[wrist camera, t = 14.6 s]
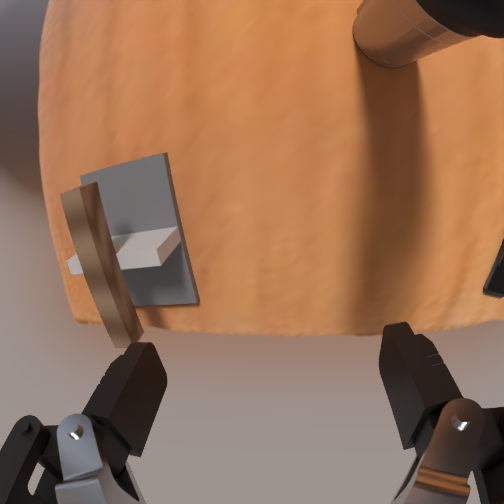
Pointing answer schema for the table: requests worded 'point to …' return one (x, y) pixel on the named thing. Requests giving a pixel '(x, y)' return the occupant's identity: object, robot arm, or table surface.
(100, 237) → the walnut bar
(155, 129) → the table surface
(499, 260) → the phone
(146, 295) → the stand
